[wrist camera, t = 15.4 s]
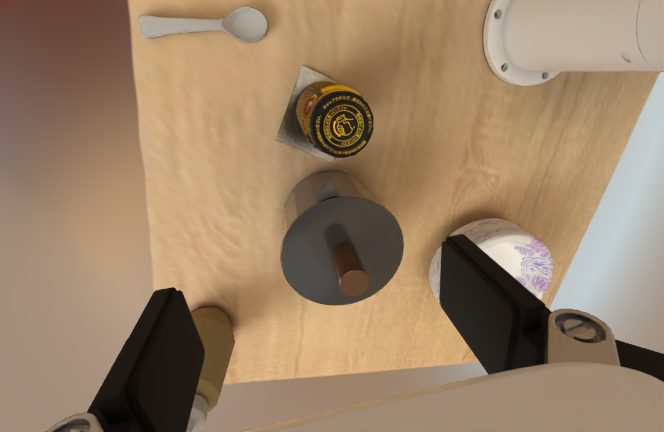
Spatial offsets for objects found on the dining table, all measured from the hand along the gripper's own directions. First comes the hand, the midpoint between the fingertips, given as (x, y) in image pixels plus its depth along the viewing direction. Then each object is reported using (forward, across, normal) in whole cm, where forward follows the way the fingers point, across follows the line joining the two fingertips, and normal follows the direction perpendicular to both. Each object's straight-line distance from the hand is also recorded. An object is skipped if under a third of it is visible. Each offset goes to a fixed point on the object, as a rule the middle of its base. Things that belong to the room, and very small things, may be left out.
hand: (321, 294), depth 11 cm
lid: (+19, -3, +10) cm, 22 cm away
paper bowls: (+28, -23, +21) cm, 42 cm away
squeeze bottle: (+28, +16, +24) cm, 40 cm away
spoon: (+28, +6, -12) cm, 32 cm away
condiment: (+28, -4, -2) cm, 29 cm away
